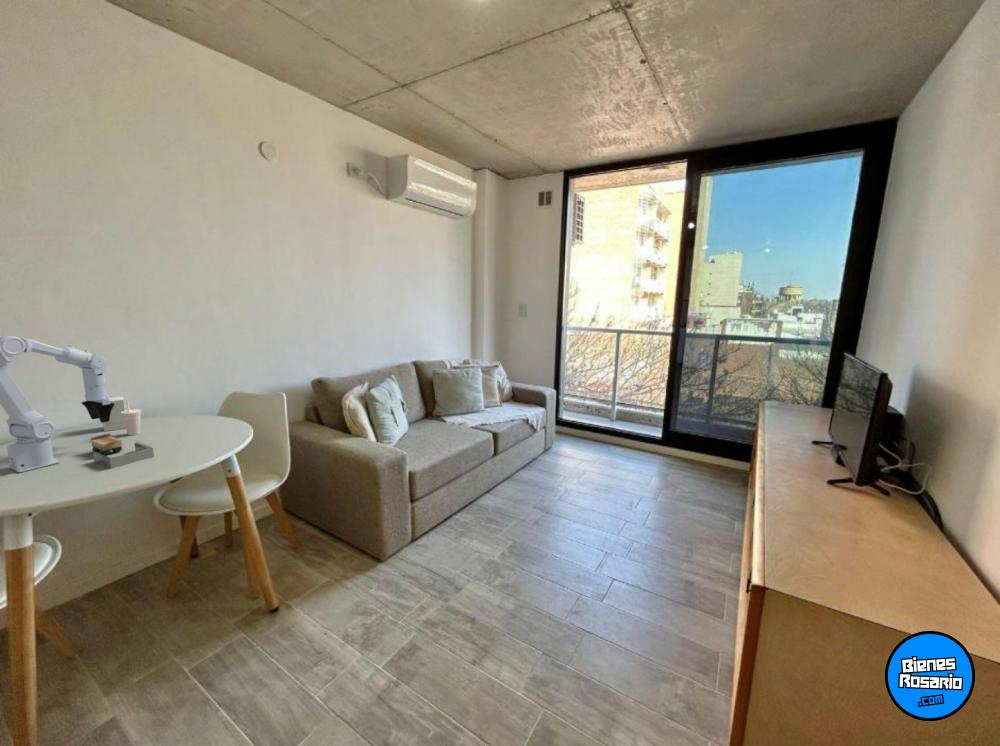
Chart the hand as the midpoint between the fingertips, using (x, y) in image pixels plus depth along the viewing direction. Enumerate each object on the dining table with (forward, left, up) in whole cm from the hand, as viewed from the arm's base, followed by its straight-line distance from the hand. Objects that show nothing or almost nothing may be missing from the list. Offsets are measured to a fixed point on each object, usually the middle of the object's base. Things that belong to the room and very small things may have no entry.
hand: (100, 420), depth 153 cm
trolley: (-3, -11, -9) cm, 15 cm away
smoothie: (+11, +4, -10) cm, 15 cm away
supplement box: (+11, +19, -10) cm, 24 cm away
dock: (-3, -23, -9) cm, 25 cm away
